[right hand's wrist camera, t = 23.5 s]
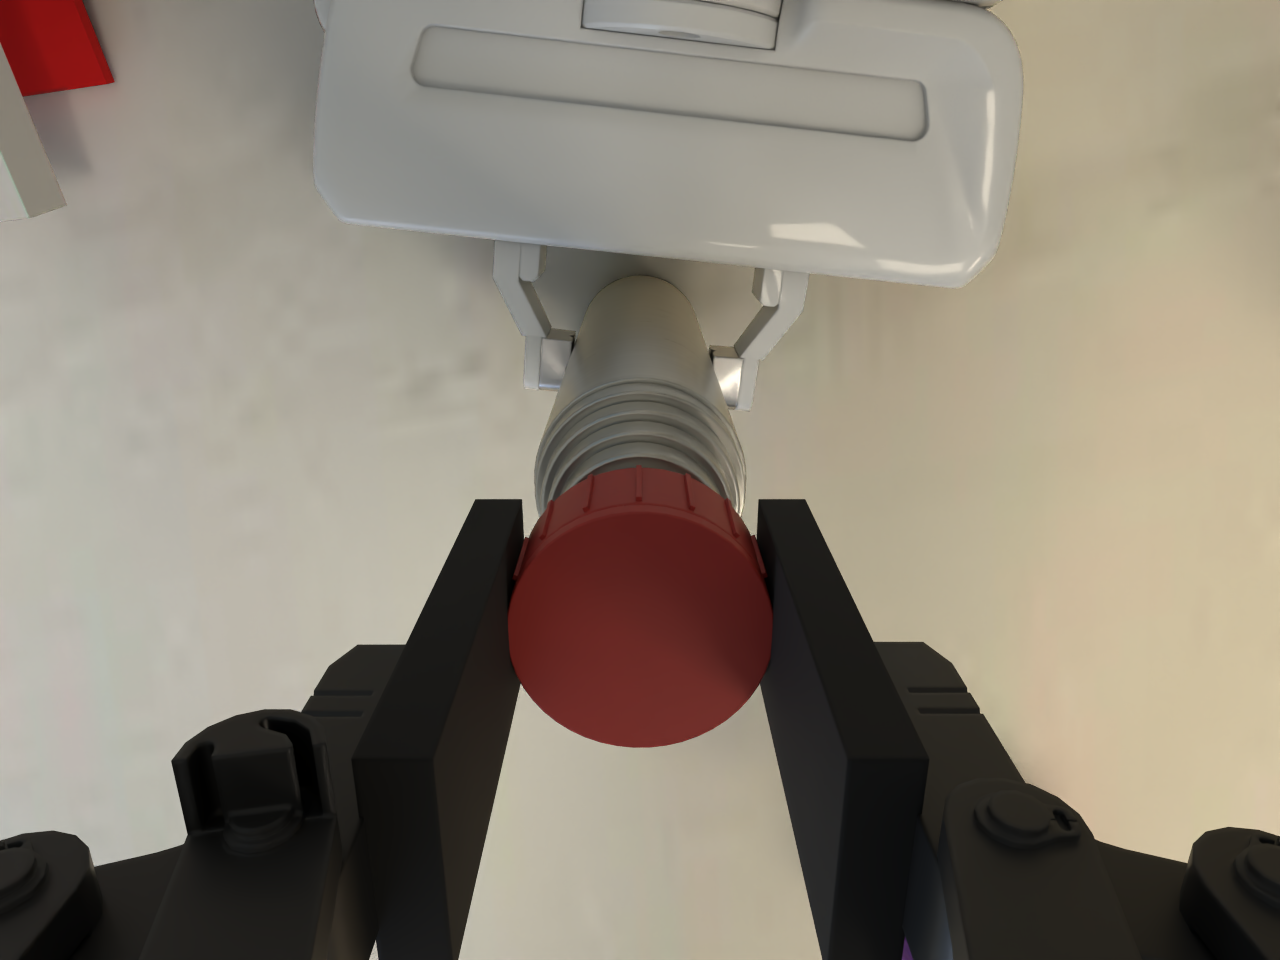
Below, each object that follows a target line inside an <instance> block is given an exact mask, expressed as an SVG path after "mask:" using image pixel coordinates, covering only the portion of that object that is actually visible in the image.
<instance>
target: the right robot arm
mask: <svg viewBox="0 0 1280 960" xmlns="http://www.w3.org/2000/svg"><path fill="white" fill-rule="evenodd" d="M523 541H524V532H523V512H522V499H475V501H474V503H473V506H472V508H471V510H470V512H469V514H468V516H467V518H466V520H465V522H464V524H463V526H462V528H461V531H460V533H459V535H458V537H457V539H456V541H455V543H454V545H453V547H452V549H451V551H450V553H449V556H448V558H447V560H446V562H445V564H444V566H443V568H442V570H441V572H440V574H439V576H438V579H437V581H436V583H435V585H434V587H433V589H432V591H431V593H430V595H429V597H428V599H427V601H426V604H425V606H424V608H423V610H422V612H421V614H420V616H419V618H418V620H417V622H416V624H415V626H414V629H413V631H412V633H411V635H410V637H409V639H408V641H407V643H406V645H357V646H355V647H354V648H353V649H351V650H350V651H349V652H347V653H346V654H345V655H343V656H342V657H341V658H339V659H338V660H337V661H335V662H334V663H333V664H331V665H330V666H329V667H328V669H327V670H326V672H325V674H324V675H323V677H322V679H321V680H320V682H319V683H318V685H317V687H316V688H315V690H314V696H311V697H310V698H309V700H308V702H307V703H306V705H305V706H304V708H303V710H302V711H301V712H298V711H294V710H291V709H264V710H259V711H255V712H250V713H245V714H240V715H236V716H233V717H231V718H228V719H226V720H224V721H221V722H219V723H216V724H214V725H212V726H209V727H207V728H206V729H204V730H203V731H202V732H200V733H199V734H197V735H196V736H194V737H193V738H192V739H190V740H189V741H187V742H186V743H185V744H184V745H183V746H182V748H181V749H180V750H179V752H178V753H177V754H176V755H175V757H174V758H173V759H172V761H171V762H172V766H173V771H174V775H175V780H176V784H177V789H178V793H179V798H180V802H181V807H182V811H183V816H184V820H185V825H186V829H187V833H188V835H187V838H186V841H185V843H184V844H183V845H180V846H177V847H174V848H170V849H167V850H164V851H160V852H157V853H153V854H148V855H144V856H140V857H135V858H131V859H126V860H122V861H118V862H113V863H109V864H105V865H100V866H96V867H94V865H93V861H92V858H91V854H90V850H89V847H88V846H87V845H85V844H84V843H83V842H82V841H81V840H80V839H79V838H78V837H77V836H76V835H72V834H67V833H62V832H57V831H45V832H35V833H25V834H20V835H17V836H14V837H11V838H8V839H5V840H1V841H0V960H369V958H370V955H371V952H372V949H373V946H374V943H375V940H376V943H377V951H378V958H379V960H458V958H459V953H460V949H461V944H462V940H463V936H464V931H465V927H466V922H467V918H468V914H469V909H470V905H471V900H472V896H473V891H474V887H475V883H476V878H477V874H478V869H479V865H480V860H481V856H482V852H483V847H484V843H485V838H486V834H487V830H488V825H489V821H490V816H491V812H492V807H493V803H494V799H495V794H496V790H497V785H498V781H499V777H500V772H501V768H502V763H503V759H504V754H505V750H506V746H507V741H508V737H509V732H510V728H511V724H512V719H513V715H514V710H515V706H516V701H517V697H518V693H519V688H520V684H521V682H520V681H519V679H518V677H517V675H516V673H515V670H514V668H513V665H512V663H511V660H510V650H509V633H508V607H509V602H510V598H511V595H512V591H513V588H514V584H515V581H516V580H513V579H512V578H513V574H514V571H515V568H516V564H517V561H518V558H519V555H520V551H521V548H522V545H523ZM757 543H758V546H759V550H760V553H761V556H762V560H763V563H764V566H765V570H766V573H767V576H768V577H766V578H764V579H765V583H766V586H767V589H768V593H769V596H770V600H771V604H772V608H773V626H772V643H771V658H770V661H769V664H768V667H767V670H766V672H765V674H764V676H763V678H762V680H761V682H760V686H761V690H762V695H763V699H764V703H765V708H766V712H767V717H768V721H769V725H770V730H771V734H772V739H773V743H774V748H775V752H776V756H777V761H778V765H779V770H780V774H781V778H782V783H783V787H784V792H785V796H786V801H787V805H788V809H789V814H790V818H791V823H792V827H793V831H794V836H795V840H796V845H797V849H798V854H799V858H800V862H801V867H802V871H803V876H804V880H805V884H806V889H807V893H808V898H809V902H810V907H811V911H812V915H813V920H814V924H815V929H816V933H817V937H818V942H819V946H820V951H821V955H822V960H902V955H903V948H904V940H905V937H906V940H907V943H908V946H909V949H910V952H911V955H912V958H913V960H1280V836H1276V835H1274V834H1270V833H1267V832H1264V831H1260V830H1254V829H1244V828H1234V827H1226V828H1221V829H1216V830H1212V831H1207V832H1205V833H1204V834H1203V835H1202V836H1201V837H1200V838H1199V839H1198V840H1197V841H1195V842H1194V843H1193V846H1192V849H1191V853H1190V857H1189V860H1188V863H1184V862H1179V861H1175V860H1170V859H1166V858H1162V857H1157V856H1153V855H1148V854H1144V853H1140V852H1135V851H1131V850H1126V849H1123V848H1119V847H1116V846H1113V845H1109V844H1106V843H1103V842H1100V841H1098V840H1095V839H1094V837H1093V834H1092V832H1091V831H1090V829H1089V828H1088V826H1087V825H1086V823H1085V822H1084V820H1083V819H1082V817H1081V816H1080V814H1078V813H1077V812H1076V811H1075V810H1073V809H1072V808H1071V807H1070V806H1068V805H1067V804H1066V803H1065V802H1063V801H1062V800H1061V799H1060V798H1058V797H1057V796H1054V795H1052V794H1050V793H1048V792H1046V791H1044V790H1042V789H1040V788H1038V787H1035V786H1033V785H1031V784H1027V783H1025V781H1024V780H1023V778H1022V777H1021V775H1020V773H1019V772H1018V770H1017V768H1016V767H1015V765H1014V764H1013V762H1012V760H1011V759H1010V757H1009V755H1008V754H1007V752H1006V751H1005V749H1004V747H1003V746H1002V744H1001V742H1000V741H999V739H998V737H997V736H996V734H995V733H994V731H993V729H992V728H991V726H990V724H989V723H988V721H987V720H986V718H985V716H984V715H983V714H980V708H979V707H978V705H977V703H976V702H975V700H974V698H973V697H972V695H971V694H970V693H967V687H966V685H965V684H964V682H963V681H962V679H961V677H960V676H959V674H958V672H957V671H956V669H955V668H954V666H953V664H952V663H951V662H950V661H948V660H947V659H945V658H944V657H943V656H941V655H940V654H939V653H937V652H936V651H935V650H933V649H932V648H931V647H929V646H928V645H927V644H925V643H924V642H873V640H872V638H871V636H870V634H869V631H868V629H867V627H866V625H865V623H864V621H863V619H862V617H861V615H860V613H859V611H858V609H857V606H856V604H855V602H854V600H853V598H852V596H851V594H850V592H849V590H848V588H847V586H846V583H845V581H844V579H843V577H842V575H841V573H840V571H839V569H838V567H837V565H836V563H835V561H834V558H833V556H832V554H831V552H830V550H829V548H828V546H827V544H826V542H825V540H824V538H823V536H822V533H821V531H820V529H819V527H818V525H817V523H816V521H815V519H814V517H813V515H812V513H811V511H810V508H809V506H808V504H807V502H806V500H805V499H759V503H758V523H757Z"/></svg>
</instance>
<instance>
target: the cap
mask: <svg viewBox="0 0 1280 960" xmlns="http://www.w3.org/2000/svg"><path fill="white" fill-rule="evenodd" d="M766 577H768V576H767V573H766V570H765V566H764V563H763V560H762V556H761V553H760V550H759V546H758V543H757V540H756V537H755V535H752V536H751V535H750V533H749V530H748V529H747V527H746V525H745V524H744V522H743V520H742V519H741V517H740V516H739V515H738V513H737V512H736V511H735V510H734V508H733V507H732V504H731V501H730V500H729V499H728V498H726V499H724V498H723V497H722V496H720V495H719V494H718V493H716V492H715V491H714V490H712V489H711V488H709V487H708V486H706V485H704V484H702V483H701V482H699V481H697V480H695V479H693V478H691V475H690V474H687V473H686V474H685V475H682V474H680V473H676V472H672V471H668V470H663V469H655V468H642V465H636V468H626V469H618V470H613V471H609V472H605V473H601V474H598V475H596V476H593V474H591V475H588V477H587V479H586V480H584V481H582V482H580V483H578V484H576V485H575V486H573V487H571V488H570V489H568V490H567V491H566V492H564V493H563V494H562V495H560V496H559V497H558V498H557V499H556V500H555V501H553V500H550V501H549V502H548V505H547V508H546V510H545V511H544V513H543V514H542V515H541V517H540V518H539V519H538V521H537V523H536V524H535V526H534V528H533V530H532V532H531V534H530V536H529V538H527V537H525V539H524V541H523V545H522V548H521V551H520V555H519V558H518V561H517V564H516V568H515V571H514V574H513V578H512V579H513V580H516V581H515V584H514V588H513V591H512V595H511V598H510V602H509V607H508V633H509V650H510V660H511V663H512V665H513V668H514V670H515V673H516V675H517V677H518V679H519V681H520V682H521V684H522V686H523V688H524V689H525V690H526V692H527V693H528V695H529V696H530V697H531V699H532V700H533V701H534V702H535V703H536V704H537V705H538V706H539V707H540V708H541V709H542V710H543V711H544V712H545V713H546V714H547V715H549V716H550V717H551V718H552V719H554V720H555V721H556V722H558V723H559V724H561V725H562V726H564V727H566V728H567V729H569V730H571V731H573V732H575V733H577V734H579V735H581V736H583V737H586V738H589V739H592V740H595V741H598V742H601V743H606V744H610V745H615V746H623V747H633V748H636V747H657V746H666V745H670V744H675V743H679V742H683V741H686V740H689V739H692V738H694V737H697V736H699V735H702V734H704V733H706V732H708V731H710V730H712V729H714V728H715V727H717V726H718V725H720V724H721V723H723V722H724V721H726V720H727V719H728V718H730V717H731V716H732V715H733V714H734V713H736V712H737V711H738V710H739V709H740V708H741V707H742V706H743V705H744V704H745V703H746V702H747V700H748V699H749V698H750V697H751V695H752V694H753V693H754V691H755V690H756V688H757V687H758V686H759V684H760V682H761V680H762V678H763V676H764V674H765V672H766V670H767V667H768V664H769V661H770V658H771V643H772V626H773V608H772V604H771V600H770V596H769V593H768V589H767V586H766V583H765V579H764V578H766Z"/></svg>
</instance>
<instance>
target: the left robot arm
mask: <svg viewBox="0 0 1280 960" xmlns="http://www.w3.org/2000/svg"><path fill="white" fill-rule="evenodd" d="M1001 1H1002V0H314V6H315V11H316V15H317V18H318V20H319V23H320V25H321V27H322V29H323V31H324V33H325V36H324V41H323V48H322V56H321V63H320V70H319V79H318V88H317V98H316V111H315V126H314V147H313V177H314V184H315V187H316V189H317V191H318V193H319V194H320V196H321V197H322V198H323V200H324V201H325V202H326V204H327V205H328V207H329V208H330V209H331V211H332V212H333V213H334V215H335V216H336V217H337V218H338V220H340V221H341V222H343V223H346V224H352V225H361V226H370V227H380V228H389V229H398V230H408V231H417V232H426V233H436V234H445V235H455V236H464V237H473V238H483V239H492V240H495V241H494V264H493V279H494V281H495V283H496V285H497V287H498V289H499V291H500V293H501V295H502V297H503V299H504V301H505V303H506V305H507V307H508V309H509V311H510V313H511V315H512V317H513V319H514V321H515V323H516V325H517V327H518V329H519V331H520V333H521V335H523V336H526V344H525V361H524V378H523V383H524V388H526V389H533V390H546V391H559V388H560V385H561V382H562V380H563V377H564V374H565V371H566V368H567V365H568V362H569V359H570V357H571V354H572V351H573V348H574V345H575V333H576V331H570V330H562V329H554V328H551V324H550V322H549V320H548V318H547V316H546V314H545V311H544V309H543V307H542V305H541V303H540V301H539V298H538V296H537V294H536V292H535V290H534V287H533V285H532V283H531V281H532V282H535V281H536V280H537V279H538V278H539V277H540V276H541V274H542V273H543V272H544V271H545V265H546V252H547V245H548V246H558V247H567V248H576V249H586V250H595V251H604V252H614V253H623V254H633V255H642V256H651V257H661V258H670V259H679V260H689V261H698V262H708V263H717V264H726V265H736V266H745V267H754V268H755V272H754V279H753V287H752V293H753V294H754V296H755V297H756V298H757V299H758V300H759V302H760V303H761V304H762V305H763V307H762V308H761V310H760V311H759V312H758V314H757V315H756V316H755V318H754V319H753V320H752V322H751V323H750V324H749V326H748V327H747V328H746V330H745V331H744V332H743V334H742V335H741V336H740V338H739V339H738V340H737V342H736V343H735V345H734V347H727V346H715V345H710V348H709V356H710V359H711V361H712V364H713V367H714V370H715V373H716V376H717V379H718V382H719V384H720V387H721V390H722V393H723V396H724V399H725V402H726V404H727V407H728V409H731V410H742V411H750V410H751V407H752V404H753V398H754V392H755V385H756V379H757V372H758V366H759V360H764V359H765V358H766V356H767V355H768V354H769V353H770V351H771V350H772V349H773V348H774V346H775V345H776V344H777V343H778V342H779V340H780V339H781V338H782V337H783V335H784V334H785V333H786V332H787V330H788V329H789V328H790V327H791V325H792V324H793V323H794V322H795V321H796V319H797V318H798V317H799V316H800V314H801V313H802V312H803V309H804V303H805V297H806V291H807V286H808V280H809V274H810V273H811V274H820V275H829V276H839V277H848V278H857V279H867V280H876V281H886V282H895V283H904V284H914V285H923V286H933V287H942V288H952V289H958V288H962V287H964V286H965V285H967V284H968V283H969V282H970V281H971V280H973V279H974V278H975V277H976V276H977V275H978V274H979V273H980V272H981V271H982V270H983V269H984V268H985V267H986V266H987V265H988V264H989V263H990V262H991V261H992V260H993V258H994V256H995V254H996V252H997V250H998V247H999V243H1000V240H1001V236H1002V232H1003V228H1004V224H1005V219H1006V215H1007V210H1008V205H1009V199H1010V194H1011V189H1012V183H1013V177H1014V171H1015V164H1016V157H1017V150H1018V143H1019V134H1020V124H1021V114H1022V104H1023V88H1024V83H1023V67H1022V60H1021V56H1020V52H1019V48H1018V45H1017V43H1016V40H1015V38H1014V37H1013V35H1012V33H1011V31H1010V30H1009V29H1008V27H1007V26H1006V25H1005V24H1004V23H1003V22H1002V21H1001V20H1000V19H999V18H998V17H997V16H995V15H994V14H993V13H991V12H989V11H987V9H989V8H991V7H992V6H994V5H996V4H997V3H999V2H1001Z"/></svg>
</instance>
